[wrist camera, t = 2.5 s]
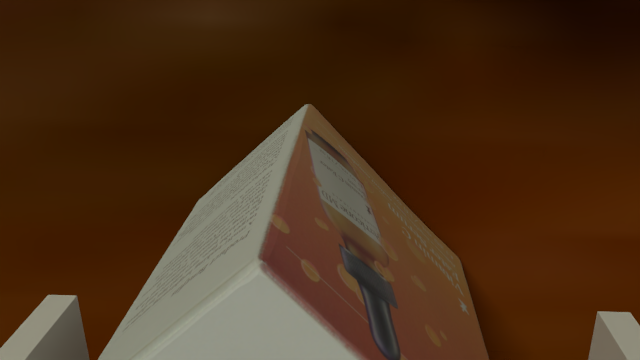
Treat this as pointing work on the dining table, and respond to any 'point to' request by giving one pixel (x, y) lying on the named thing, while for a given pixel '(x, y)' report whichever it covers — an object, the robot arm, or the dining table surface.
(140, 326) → the small box
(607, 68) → the dining table surface
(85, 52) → the dining table surface
